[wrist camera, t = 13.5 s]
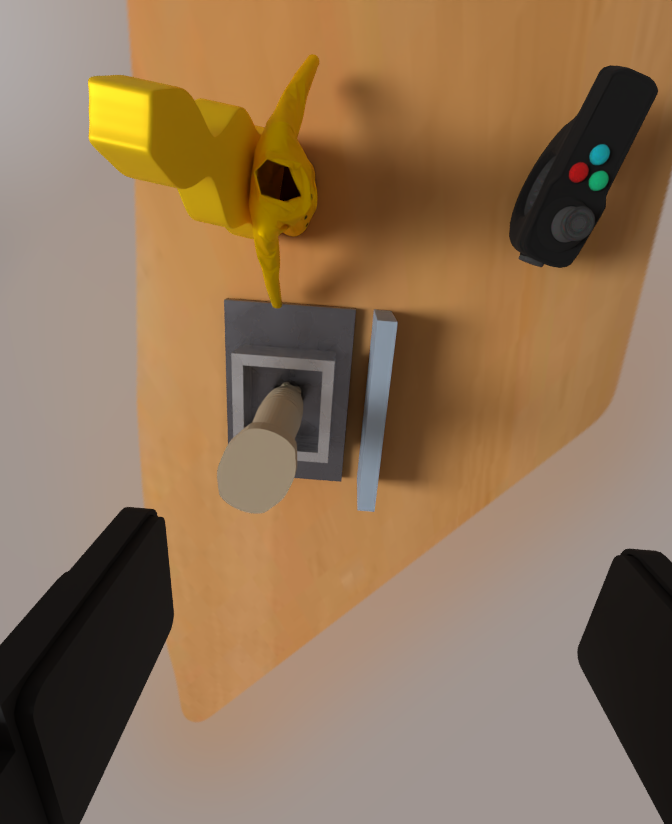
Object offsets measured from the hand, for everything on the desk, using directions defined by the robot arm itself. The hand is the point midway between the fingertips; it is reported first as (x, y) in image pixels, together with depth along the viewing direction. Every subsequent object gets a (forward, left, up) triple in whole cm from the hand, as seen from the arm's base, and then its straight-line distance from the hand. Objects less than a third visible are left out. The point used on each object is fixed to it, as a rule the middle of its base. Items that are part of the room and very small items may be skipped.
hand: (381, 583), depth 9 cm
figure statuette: (-10, -8, -33) cm, 36 cm away
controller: (-12, +14, -33) cm, 38 cm away
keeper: (+8, -6, -33) cm, 35 cm away
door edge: (+8, +2, -33) cm, 34 cm away
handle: (+8, -6, -32) cm, 34 cm away
